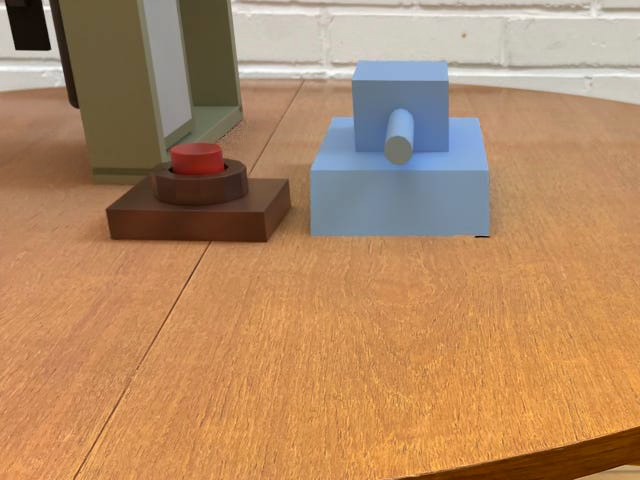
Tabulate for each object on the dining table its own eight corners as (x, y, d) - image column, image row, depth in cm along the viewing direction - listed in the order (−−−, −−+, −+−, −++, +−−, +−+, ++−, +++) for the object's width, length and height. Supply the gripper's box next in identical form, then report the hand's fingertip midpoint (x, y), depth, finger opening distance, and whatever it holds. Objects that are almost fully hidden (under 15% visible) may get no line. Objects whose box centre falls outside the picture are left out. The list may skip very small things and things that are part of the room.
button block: (111, 240, 68) (99, 182, 66) (151, 204, 75) (142, 151, 73) (267, 243, 68) (261, 185, 65) (291, 207, 75) (286, 154, 73)
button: (166, 179, 68) (163, 153, 67) (181, 166, 71) (177, 142, 70) (217, 180, 68) (214, 154, 67) (230, 167, 71) (227, 142, 70)
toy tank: (493, 105, 64) (298, 104, 64) (491, 241, 69) (310, 242, 69) (479, 53, 83) (328, 52, 82) (477, 164, 88) (335, 163, 87)
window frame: (94, 184, 80) (45, -64, 71) (188, 117, 104) (161, -75, 95) (165, 186, 80) (127, -63, 71) (243, 118, 104) (222, -74, 95)
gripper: (-19, -286, 64) (51, 61, 75) (112, -242, 85) (151, 23, 96) (-132, -288, 64) (-45, 59, 75) (27, -243, 85) (76, 22, 96)
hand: (65, 40), depth 85 cm, fingers open, 13 cm apart
